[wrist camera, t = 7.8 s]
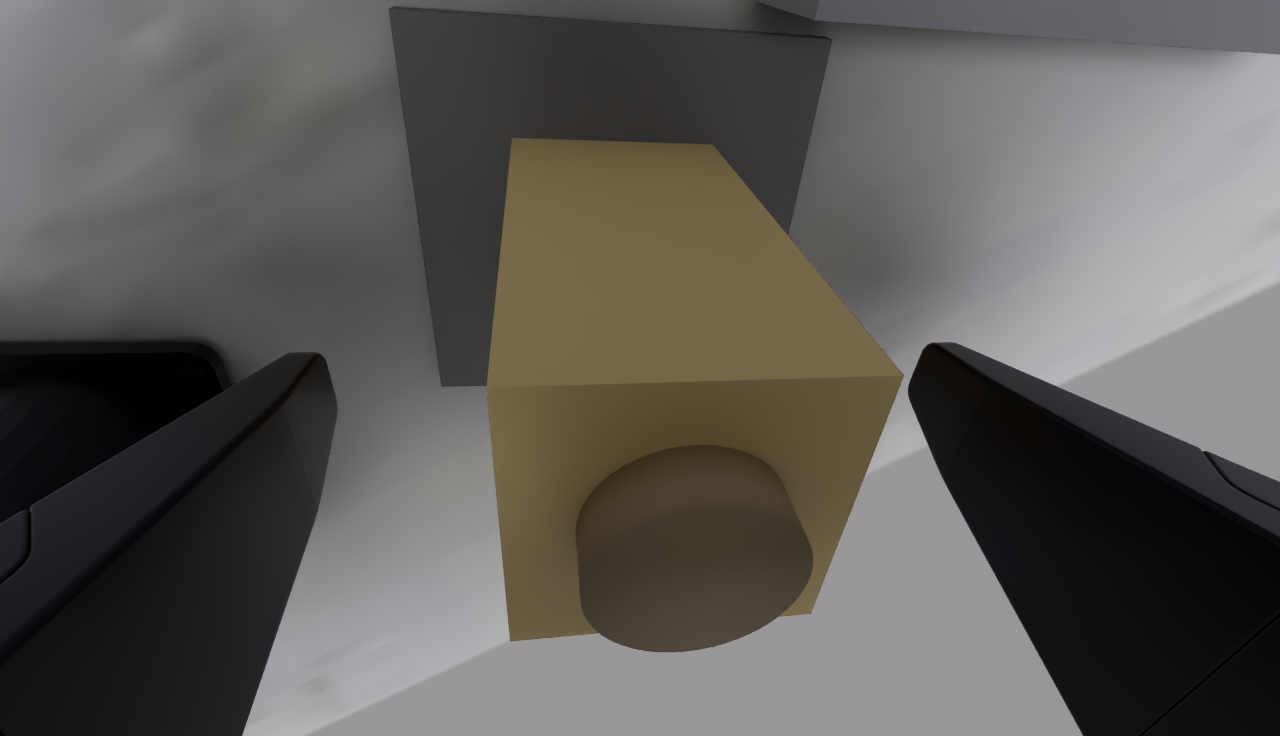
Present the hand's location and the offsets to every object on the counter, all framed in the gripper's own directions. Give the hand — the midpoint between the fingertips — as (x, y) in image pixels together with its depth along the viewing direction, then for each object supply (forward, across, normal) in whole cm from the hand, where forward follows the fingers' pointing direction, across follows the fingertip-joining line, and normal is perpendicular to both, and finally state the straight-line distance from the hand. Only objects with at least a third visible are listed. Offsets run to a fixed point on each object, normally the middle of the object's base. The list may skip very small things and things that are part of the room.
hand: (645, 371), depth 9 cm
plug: (+5, 0, 0) cm, 5 cm away
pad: (+6, 0, 0) cm, 6 cm away
